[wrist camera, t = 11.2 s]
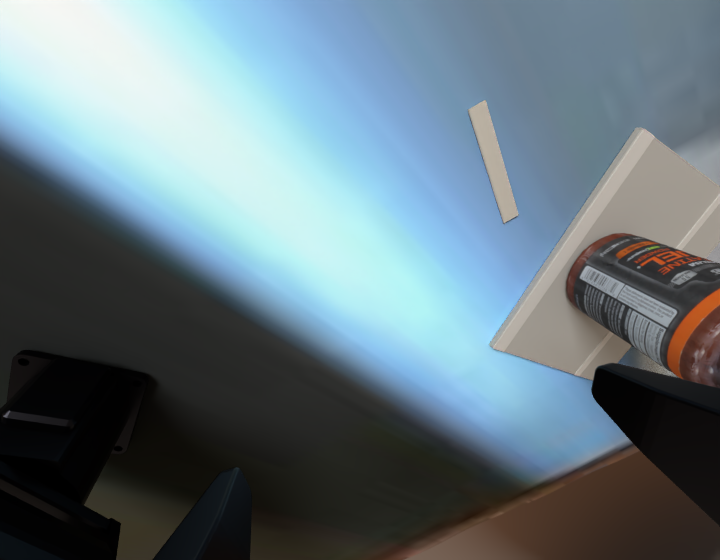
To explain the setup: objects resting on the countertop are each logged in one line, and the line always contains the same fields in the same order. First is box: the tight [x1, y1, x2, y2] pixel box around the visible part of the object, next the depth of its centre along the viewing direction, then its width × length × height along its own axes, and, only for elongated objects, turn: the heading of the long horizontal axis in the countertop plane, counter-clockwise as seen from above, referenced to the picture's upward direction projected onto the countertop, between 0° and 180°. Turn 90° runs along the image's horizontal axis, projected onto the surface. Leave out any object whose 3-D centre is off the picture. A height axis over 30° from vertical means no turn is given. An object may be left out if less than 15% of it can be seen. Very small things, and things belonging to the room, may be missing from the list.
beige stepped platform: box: [489, 128, 720, 380], centre depth 25 cm, size 16×12×1 cm
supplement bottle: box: [566, 233, 720, 388], centre depth 19 cm, size 6×6×11 cm
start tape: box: [468, 100, 519, 223], centre depth 20 cm, size 1×7×1 cm, turn 28°
